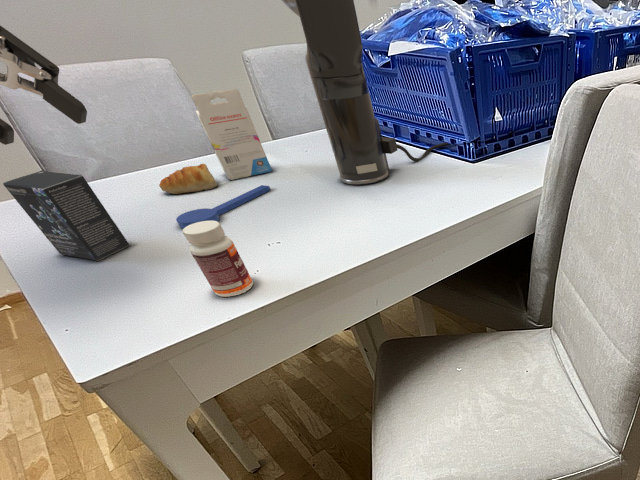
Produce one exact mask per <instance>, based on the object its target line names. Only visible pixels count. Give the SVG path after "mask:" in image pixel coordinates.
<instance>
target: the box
mask: <svg viewBox="0 0 640 480" xmlns="http://www.w3.org/2000/svg"><path fill="white" fill-rule="evenodd" d="M2 185H3V186H4V187H5V189H6V190H7V191H8V193H9V194H10V195H11V196H12V197H13V198H14V200H15V201H16V202H17V203H18V204H19V206H20V207H21V208H22V210H23V211H24V212H25V213H26V215H27V216H28V217H29V219H31V221H32V222H33V223H34V224H35V225H36V227H37V228H38V229H39V230H40V232H41V233H42V234H43V235H44V236H45V237H46V239H47V240H48V241H49V243H50V244H51V245H52V246H53V247H54V249H55V250H56V251H57V253H58V254H59V255H63V256H69V257H73V258H74V257H75V258H80V259H85V260H86V259H87V260H92V261H96V262H98V261H101V260H104V259H105V258H107V257H109V256H112V255H113V254H116V253H117V252H121V251H122V250H125V249H127V248H128V247H129V246H130V242H129V241H128V240H127V238H126V237H125V235H124V234H123V232H122V231H121V230H120V228H119V227H118V225H117V224H116V223H115V221H114V219H113V218H112V216H111V215H110V214H109V212H108V211H107V209H106V208H105V207H104V205H103V203H102V202H101V200H100V199H99V198H98V196H97V194H96V193H95V192H94V190H93V189H92V187H91V186H90V184H89V182H87V180H86V178H85V177H84V176H83V175H82V174H74V173H73V174H72V173H65V172H63V173H62V172H54V171H48V170H43V169H42V170H39V171H36V172H33V173H30V174H26V175H23V176H20V177H15V178H13V179H10V180H7V181H5V182H3V183H2Z"/></svg>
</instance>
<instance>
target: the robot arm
mask: <svg viewBox="0 0 640 480" xmlns="http://www.w3.org/2000/svg"><path fill="white" fill-rule="evenodd" d="M281 2H283V3H284V5H285V6H286V7H287V8H288V9H289V10H290V11H291V12H292V13H294V14H295V15H296V16H297V17H299V18H300V24H301V27H302V30H303V34H304V39H305V42H306V53H305V57H304V58H305V64H306V68H307V70H308V74H309V76H310V80H311V84H312V87H313V91H314V93H315V97H316V100H317V103H318V106H319V110H320V114H321V117H322V121H323V123H324V126H325V130H326V133H327V136H328V139H329V143H330V146H331V149H332V154H333V156H334V159H335V163H336V166H337V170H338V172H339V173H338V174H339V178H340V181H341V182H342V183H344V184H347V185H357V186H358V185H369V184H373V183H377V182H380V181H383V180H385V179H387V178H388V176H389V172H390V166H389V161H388V158H387V154H389V155H390V154H391V155H392V154H394V153H395V152H397V151H398V150H400V151H402V152H403V153H404V154H405V155H406V156H407V158H409V159H410V160H411V161H412V162H415V163H418V162H420V161H422V160H423V159H425V158H426V157H427V156H428V155H429V154H430V152H431V151H435V150H437V149H440V148H444V147H448V146H452V145H451V144H448V143H446V142H442V143H439V144H435V145H432V146H430V147H428V148H427V149H426V150H425V151H424V153H423V154H422V155H421V157H418V158H417V157H414V156H413V155H412V154H411V153H410V152H409V151H408V150H407V149H406V148H405V147H404V146H403V145H400V144H398V143H397V140H396V138H394V137H384V136H383V135H382V132H381V126H380V123H379V120H378V118H376V116H375V112H374V107H373V103H372V98H371V95H370V89H369V85H368V81H367V78H366V72H365V68H364V64H363V51H364V49H363V41H362V36H361V31H360V30H361V29H360V26H359V20H358V15H357V11H356V5H355V0H281ZM0 62H1V63H3V64H4V65H5V67H6V73H2V72H0V86H3V87H6V88H8V89H11V90H18V89H22V90H25V91H27V92H30V93H32V94H35V95H38V96H41V97H42V99H43V101H45V102H46V103H48V104H49V105H50V106H52V107H54V108H55V109H56V110H58V111H59V112H61V113H62V114H64V116H66V117H67V118H68V119H70V120H71V121H73V122H74V123H75V124H78V125H81V124H85V123H86V122H87V116H88V109H87V108H86V106H85V105H84V103H83V102H82V101H81V100H79V99H78V98H76V97H75V96H74V95H72V94H71V93H70V92H68V91H67V90H66V89H64V88H63V87H62V86H60V85H59V75H60V67H58V65H56V64H55V63H54V62H53V61H51V60H49V59H48V58H47V57H45V56H44V55H43V54H42V53H40V52H38V51H37V50H36V49H34V48H32V47H31V46H30V45H29V44H27V43H26V42H24V40H22V39H20V38H19V37H18V36H16V35H15V34H13V33H12V32H10V31H9V30H8V29H6V28H5V27H4V26H2V25H0ZM36 65H37V66H38V67H40V68H38V67H37V66H36ZM19 73H20V74H22V75H27V76H28V77H31V78H34V80H30V79H26V78H24V77H22V76H20V75H19ZM14 142H15V130H14V128H13V127H12V125H10V124H9V123H7V122H6V121H5V120H3V119H2V118H0V144H2V145H5V146H6V145H9V144H13V143H14Z"/></svg>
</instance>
